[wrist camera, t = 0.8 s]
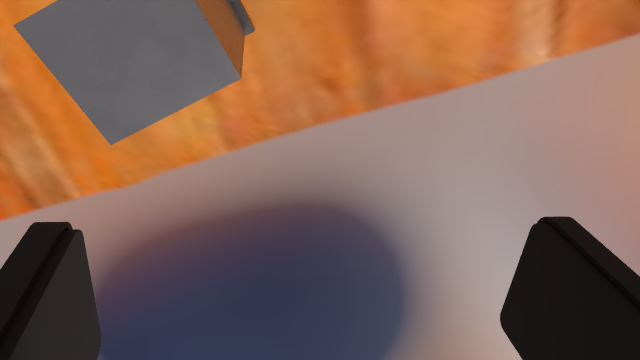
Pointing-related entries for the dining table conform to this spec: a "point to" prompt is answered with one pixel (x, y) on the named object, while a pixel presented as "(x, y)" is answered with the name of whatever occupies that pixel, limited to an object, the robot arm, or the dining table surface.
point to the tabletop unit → (138, 55)
